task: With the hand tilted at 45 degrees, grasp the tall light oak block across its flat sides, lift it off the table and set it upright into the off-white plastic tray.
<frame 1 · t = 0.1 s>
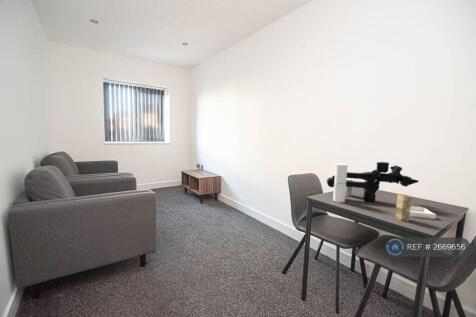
hand: (414, 179, 146), 17 cm above the table, tool horizontal, fingers open, 9 cm apart
oak block: (401, 219, 122), on the table
skincare box: (346, 195, 167), on the table
tray: (417, 214, 130), on the table
cylindrical container: (338, 201, 152), on the table
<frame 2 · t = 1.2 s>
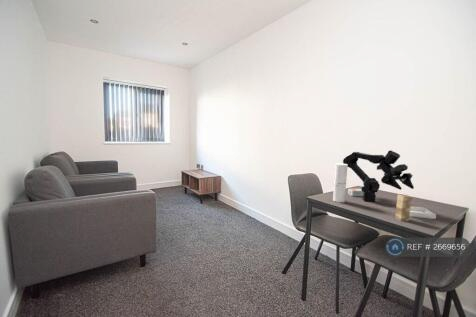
hand: (407, 188, 129), 15 cm above the table, tool tilted 55°, fingers open, 9 cm apart
skincare box: (349, 192, 167), point 2 cm above the table
everything else where it was.
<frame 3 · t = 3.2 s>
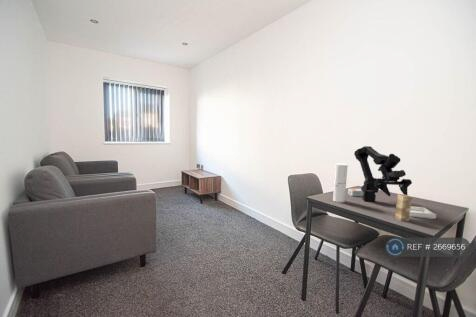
hand: (398, 196, 125), 11 cm above the table, tool tilted 45°, fingers open, 9 cm apart
nothing on the table moved.
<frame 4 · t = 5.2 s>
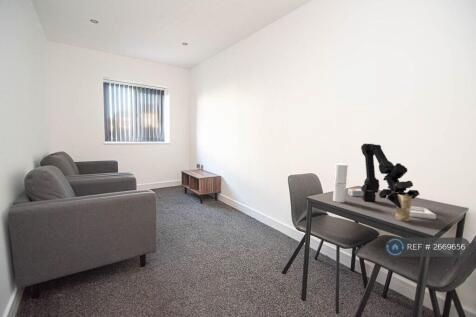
hand: (405, 208, 119), 7 cm above the table, tool tilted 45°, fingers closed on oak block, 4 cm apart
oak block: (402, 219, 122), on the table, touching gripper
everything else where it was.
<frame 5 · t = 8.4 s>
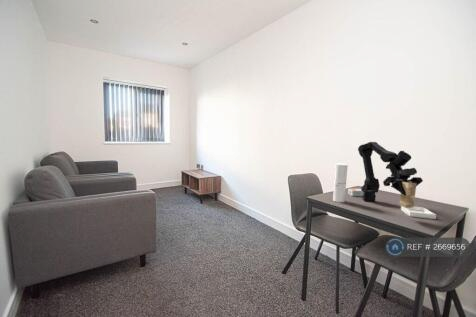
hand: (409, 195, 119), 14 cm above the table, tool tilted 45°, fingers closed on oak block, 4 cm apart
oak block: (406, 206, 121), point 7 cm above the table, touching gripper
everything else where it was.
when the fingers open (9 cm above the table, at t = 11.6 s): oak block drops 1 cm, resting on tray.
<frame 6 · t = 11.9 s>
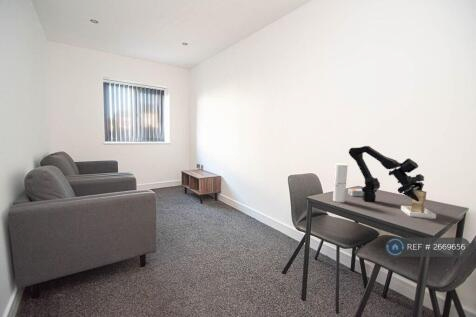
hand: (421, 200, 128), 9 cm above the table, tool tilted 45°, fingers open, 7 cm apart
oak block: (417, 213, 130), point 1 cm above the table, touching tray
everything else where it was.
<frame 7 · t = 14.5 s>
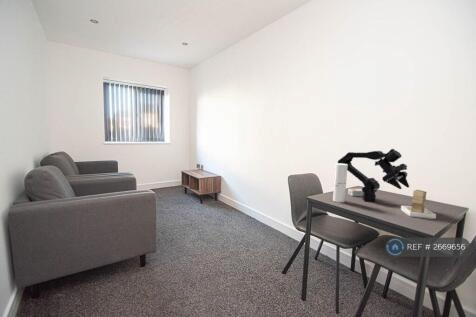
hand: (404, 187, 135), 14 cm above the table, tool tilted 45°, fingers open, 9 cm apart
nothing on the table moved.
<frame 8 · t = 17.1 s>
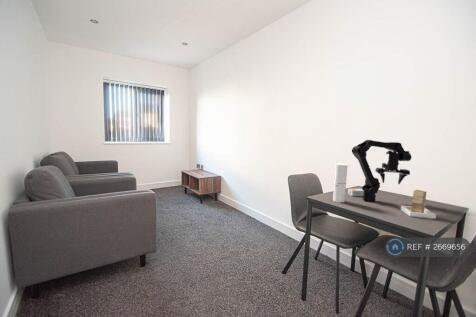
hand: (390, 183, 154), 12 cm above the table, tool pointing down, fingers open, 9 cm apart
nothing on the table moved.
at the end: oak block inside the target area on the tray (0.0 cm from its centre), point 0.6 cm above the tray's base; oak block tilted 0°; the gripper is holding nothing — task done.
